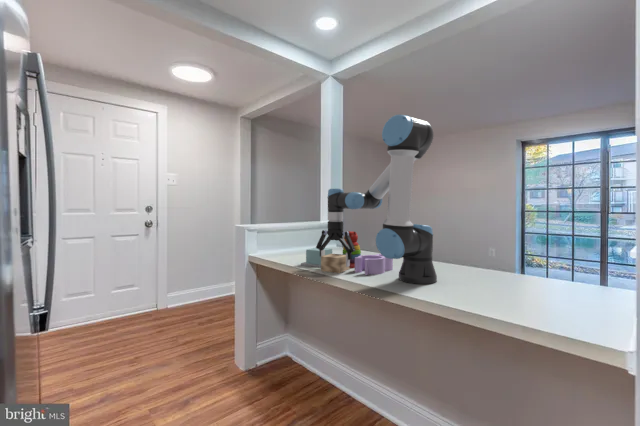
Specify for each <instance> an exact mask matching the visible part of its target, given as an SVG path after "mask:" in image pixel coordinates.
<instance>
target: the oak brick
mask: <svg viewBox="0 0 640 426" xmlns="http://www.w3.org/2000/svg"><path fill="white" fill-rule="evenodd" d="M349 270H350V268H349V267H346V255H343V254H339V253H332V254H328V255H324V256H321V268H320V271H321V272H327V273H328V272H331V273H337V274H341V273H343V272H345V271H349Z"/></svg>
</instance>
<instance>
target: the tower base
mask: <svg viewBox="0 0 640 426" xmlns="http://www.w3.org/2000/svg"><path fill="white" fill-rule="evenodd" d="M323 250H325V255H328V254H333V248H326V247H325V248H324V249H323ZM300 266H305V267H314V268H320V269H321V257H320V250H319V249H317V248H316V247H312V248H311V247H310V248H306V250H305V261H304V262H301V263H300Z"/></svg>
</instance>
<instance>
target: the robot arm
mask: <svg viewBox="0 0 640 426" xmlns="http://www.w3.org/2000/svg"><path fill="white" fill-rule="evenodd" d="M434 136H435V135H434V129H433V127H432V126H431V124H430V123H429V122H428V121H426V120H424V119H419V118H416V117H413V116H410V115H407V114H394V115H392V116H390V118H388V120H387V121H386V122H385V123H384V125H383V128H382V131H381V137H382V141H383V143H384V144H386V146H387V148H386V149H387V150H386V151H387V154H388V155H389V156H390V162H389V164H388V165H387V166H386V167H385V169H384V170H383V171H382V173H380V175H379V176H378V177H377V179H376V180H375V181H374V182H373V184H372V185H371V186H370V187H369V188H368V190H367V191H366V192H357V191H351V192H345V191H344V189H343V188H329V189H328V190H327V220H328V221H327V230H326V229H324V230H322V231H321V236H320V237H319V240H318V242H317V244H316V246H315V248H317V249H319V250H320V257H321V256H324V255H325V250H323V249H324V248H326V247H327V245H328V244H329V243H330V242H331V241H338V242H340V244H341V245H342V247H344V248H345V249H346V251H347V253H346V267H349V266H350V260H351V256H352V252H354V251H355V248H354V245H353V243H352V241H351V238H350V235H349V231H350V230H347V231H344V209H346V210H361V209H363V210H373V209H378V208H380V207H381V206H382V204H383V198H384V197H385V195H386V194H387V193H388V196H387V197H388V201H387V212H386V213H387V216H386V219H385V220H384V221H383V222H382V229H380V230H378V233H377V234H376V236H375V245H376V248H377V250H378V251H379V254H382V255H383V256H384V257H386V258H388V259H393V260H399V259H403V260H402V263H401V266H400V269H399V271H398V272H399V273H398V279H399V280H400V281H401V282H405V283H409V284H418V285H427V284H428V285H429V284H434V283H437V281H438V279H437V277H438V276H437V273H436V272H437V271H436V270H435V265H434V262H433V248H434V247H433V246H434V245H433V243H434V241H433V240H434V238H433V237H434V234H433V228H432V226H430V225H427V224H426V225H425V224H420V223H419V224H417V223H413V222H412V221H411V210H412V198H413V196H412V195H413V194H412V193H413V181H414V180H413V179H414V167H415V166H414V165H415V164H414V163H415V162H416V161H417V160H421V159H422V157H423V156H425V154H426V153H427V152H428V150H429V149H430V148H431V145H432V144H433V140H434ZM343 236H345V238H346V241H347V243H348V244H347V243H346V241H345V240H344V237H343ZM326 237H327V238H326ZM325 238H326V239H325ZM324 240H325V241H324ZM348 245H349V246H348Z"/></svg>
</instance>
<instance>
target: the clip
mask: <svg viewBox="0 0 640 426" xmlns="http://www.w3.org/2000/svg"><path fill="white" fill-rule="evenodd" d="M393 261H394V259H388V258H386V257H384V256H383V255H382V254H381V253H376V254H363V255H362V254H361V256H358V257H355V268H354V273H362V272H363V271H364V275H365V276H368V275H382V274H385V272H390V271H392V270H393V269H394V267H393V266H394V265H393V263H394V262H393Z"/></svg>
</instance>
